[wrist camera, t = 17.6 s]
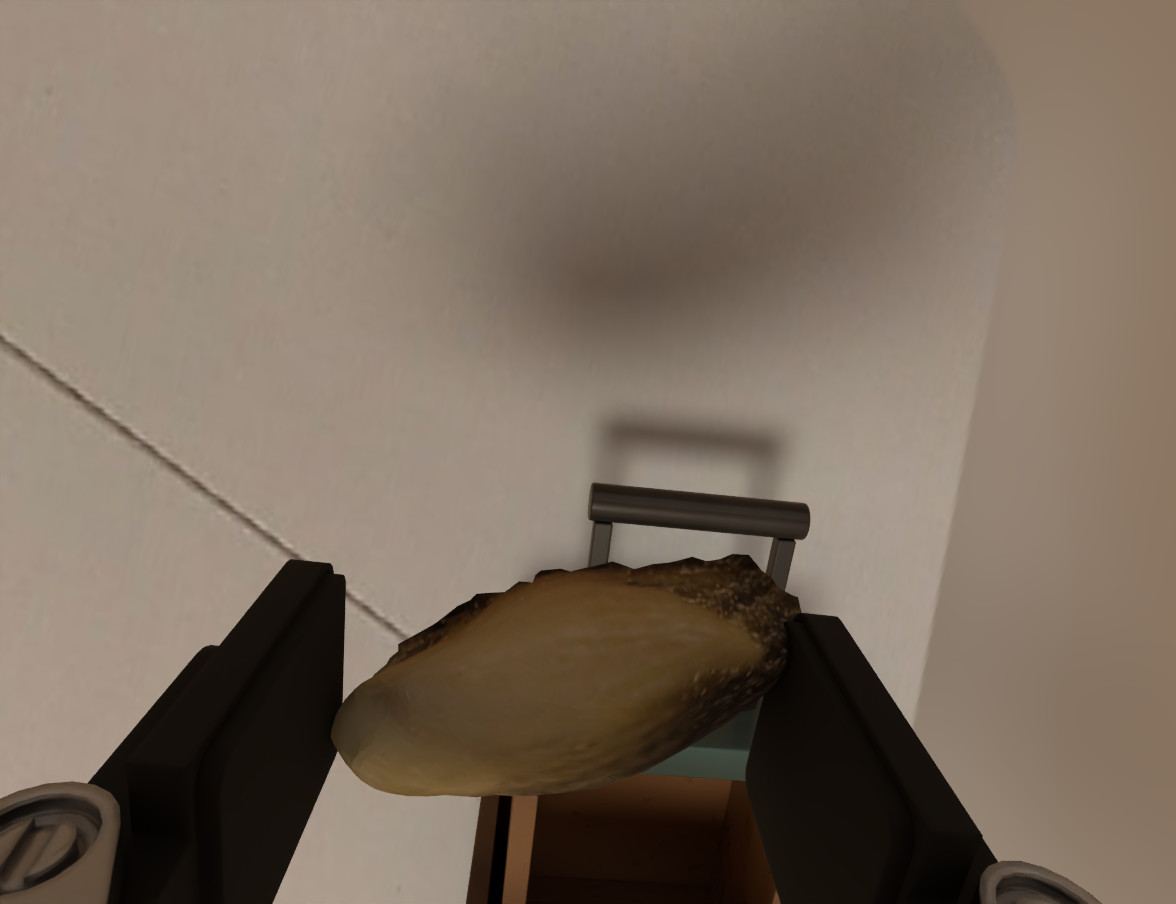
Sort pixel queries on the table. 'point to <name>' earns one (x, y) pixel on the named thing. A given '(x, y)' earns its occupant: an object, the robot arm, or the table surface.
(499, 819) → the cabinet
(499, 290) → the table surface
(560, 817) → the drawer
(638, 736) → the brazil nut
